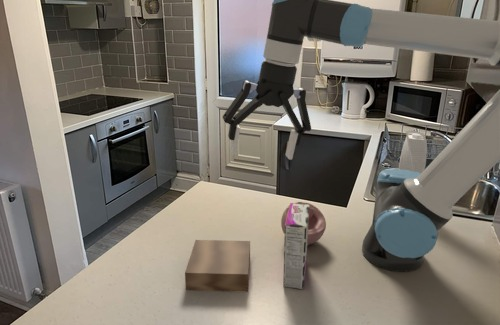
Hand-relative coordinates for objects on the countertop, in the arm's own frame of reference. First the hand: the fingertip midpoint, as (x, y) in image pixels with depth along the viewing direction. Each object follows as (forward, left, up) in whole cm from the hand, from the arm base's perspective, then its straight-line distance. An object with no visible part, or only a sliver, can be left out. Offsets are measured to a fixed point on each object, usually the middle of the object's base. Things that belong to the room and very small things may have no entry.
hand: (261, 155), depth 88 cm
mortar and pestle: (-12, -9, -28) cm, 32 cm away
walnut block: (+9, +6, -29) cm, 31 cm away
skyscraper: (-47, -29, -29) cm, 62 cm away
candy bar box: (-9, +6, -28) cm, 30 cm away
